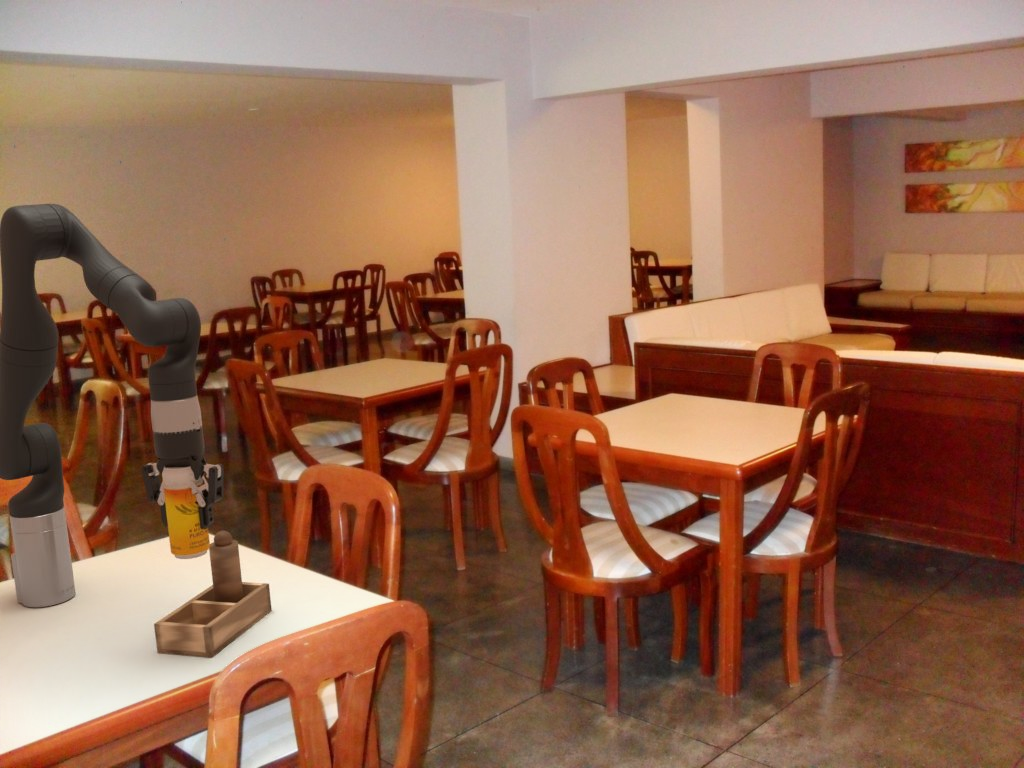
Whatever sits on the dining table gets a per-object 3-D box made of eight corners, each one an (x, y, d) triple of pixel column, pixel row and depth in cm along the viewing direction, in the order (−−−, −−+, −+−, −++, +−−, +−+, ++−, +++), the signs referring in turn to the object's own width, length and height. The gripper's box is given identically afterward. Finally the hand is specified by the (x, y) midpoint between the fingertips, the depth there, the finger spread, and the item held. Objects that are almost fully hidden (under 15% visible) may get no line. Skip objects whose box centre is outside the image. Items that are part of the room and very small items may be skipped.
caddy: (157, 653, 161) (146, 558, 158) (221, 607, 179) (212, 521, 176) (211, 657, 158) (201, 561, 155) (271, 610, 176) (263, 523, 173)
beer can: (198, 560, 158) (188, 469, 155) (164, 559, 159) (153, 469, 156) (217, 547, 164) (208, 459, 161) (183, 547, 165) (173, 459, 162)
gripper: (123, 430, 156) (135, 532, 159) (203, 431, 152) (214, 536, 155) (152, 419, 163) (164, 518, 166) (230, 420, 159) (240, 521, 162)
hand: (188, 526), depth 161 cm, fingers closed on beer can, 6 cm apart
